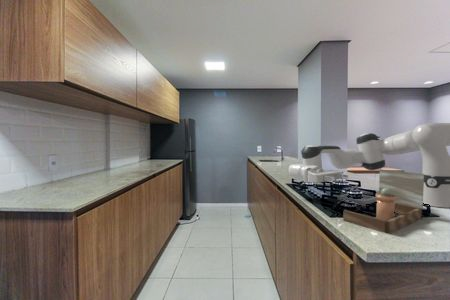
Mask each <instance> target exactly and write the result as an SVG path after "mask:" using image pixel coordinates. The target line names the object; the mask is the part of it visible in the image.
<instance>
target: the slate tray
mask: <svg viewBox="0 0 450 300" xmlns="http://www.w3.org/2000/svg"><path fill="white" fill-rule="evenodd" d="M348 195H349V194H348V193H343V194H340V195H337V201H338V200H341V199H345V200H352V201H355V202H356V203H358V204H359V205H361V206H360V207H363V206H364V207H367V206H366V204H371V203H374V202H377V199H376V196H373V195H372V196H371V195H367V194H362V197H363V198H361V199H353V198H348V197H347V196H348ZM374 204H375V203H374ZM371 205H372V204H371Z"/></svg>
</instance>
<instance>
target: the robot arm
mask: <svg viewBox="0 0 450 300" xmlns="http://www.w3.org/2000/svg"><path fill="white" fill-rule="evenodd" d="M379 138H381V136H378V135H377V134H375V133H370V132H365V133H362V134H360V135H359V136H358V137H356V140H355V141H356V145H357V148H345V149H341V147H340V146H336V145H314V144H308V145H305V146H304V147H303V148H302V149H301V151H300V153H301V157H302V163H292V164H289V166H288V169H287V173H288V176H289V178H291V179H293V180H295V181H299V182H300V181H301V182H303V183H305V184H310V183H311V184H317V185H318V184H320V183H324V182H336V181H337V180H341V179H343V180H348V179H349V175H348V174H344V171H343V170H346V169H348V168H349V169H350V168H352V167H354V166H356V165H358V164H361V165H360V167H363V168H364V169H366V170H368V171H380V169H382V168H384V167H385V166H386V159H385V157H384V155H386V156H396V155H404V154H409V153H412V152H418V151H419V152H420V154H421V160H422V161H421V163H422V169H421V171H422V172H421V174H424V187H423V203H424V204H429V205H430V207H435V208H448V209H450V154H449V152H448V149H447V147H449V146H450V122H426V123H423V124H419V125H417V126H416V127H414V128H413V129H409V130H408V131H404V132H400V133H397V134H394V135H391V136H388V137H386V138H383V139H379ZM322 154H327V157H328V159H329V162H330V164H331V165H332V166H333V168H335V169H338V170H335V169H334V170H333V169H328V170H324V168H323V163H322ZM424 204H423V205H424ZM429 205H428V206H429Z"/></svg>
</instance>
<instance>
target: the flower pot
mask: <svg viewBox="0 0 450 300" xmlns="http://www.w3.org/2000/svg"><path fill="white" fill-rule="evenodd" d="M375 197H376V199H377V203H376V208H375V209H376V211H375V213H376V215H375V218H378V219H382V220H386V221H387V220H390V219H392V218H395V213H394V210H395V201H396V195H393V194H390V190H389V189H387V188H384V189H382V191H381V193H379V192H377V193H375Z"/></svg>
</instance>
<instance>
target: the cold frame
mask: <svg viewBox="0 0 450 300" xmlns="http://www.w3.org/2000/svg"><path fill="white" fill-rule="evenodd" d="M378 179H379V182H378V183H379V184H378V193H381V191H382V189H384V188H387V189H389V190H390V194H393V195H396V201H395V210H394V212H395V213H394V214H397V213H398V215H397V216H394V218H392V219H390V220H387V221H386V220H382V219H378V218H376V217H374V216H370V215H366V214H363V213H362V214H361V213H359V212H358V213H357V212H355V211H351V210H346V209H344V210H343V212H342V213H343V216H342V217H343V219H342V220H343V221H344V222H347V223H351V224H354V225H357V226H360V227H363V228H368V229H371V230H374V231H377V232H381V233H384V234H388V235H390V234H391V233H394V232H395V231H398V230H400V229H401V228H403V227H406V226H408V225H410V224H412V223H415V222H416V221H419V220H422V218H423V217H422V216H423V208H424V207H423V205H424V204H423V187H424V174H422V172H421V173H420V172H413V171H412V172H410V171H401V170H400V171H399V170H391V169H382V168H381V169H379V178H378Z"/></svg>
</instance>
